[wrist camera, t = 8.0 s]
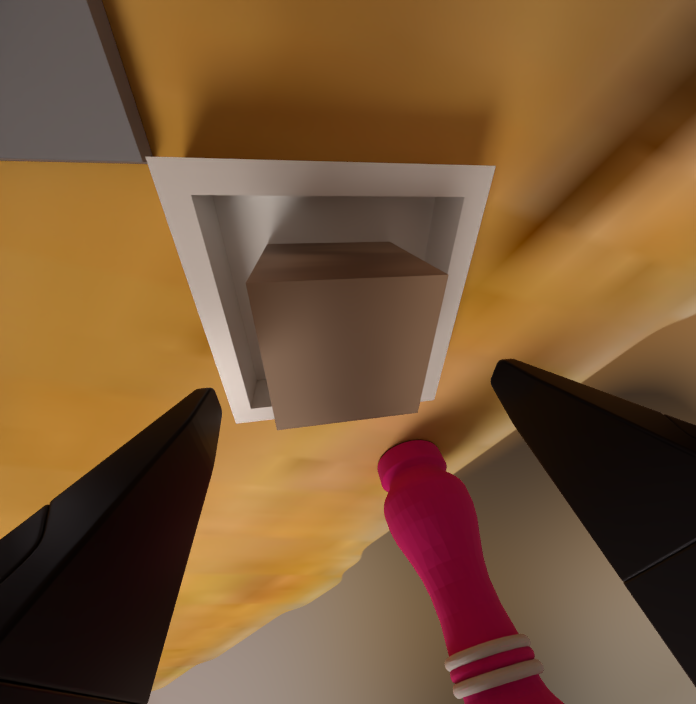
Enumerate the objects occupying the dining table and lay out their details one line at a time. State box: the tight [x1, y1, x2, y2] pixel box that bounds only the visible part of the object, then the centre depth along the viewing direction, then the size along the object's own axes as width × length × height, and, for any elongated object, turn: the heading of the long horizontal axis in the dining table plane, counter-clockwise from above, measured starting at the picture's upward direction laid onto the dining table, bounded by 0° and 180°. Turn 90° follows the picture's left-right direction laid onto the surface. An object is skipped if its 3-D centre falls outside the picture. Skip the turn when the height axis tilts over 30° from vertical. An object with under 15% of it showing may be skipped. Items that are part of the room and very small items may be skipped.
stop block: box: [246, 242, 449, 430], centre depth 11 cm, size 6×6×6 cm
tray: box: [146, 157, 496, 424], centre depth 13 cm, size 12×12×3 cm
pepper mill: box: [378, 440, 564, 704], centre depth 16 cm, size 7×7×20 cm
